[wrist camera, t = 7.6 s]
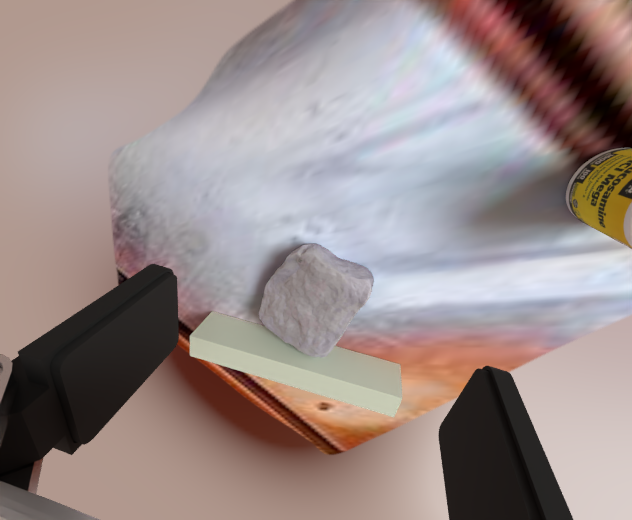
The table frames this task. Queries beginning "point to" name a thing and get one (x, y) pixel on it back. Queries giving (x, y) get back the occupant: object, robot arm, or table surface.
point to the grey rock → (314, 299)
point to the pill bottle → (604, 194)
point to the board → (299, 364)
